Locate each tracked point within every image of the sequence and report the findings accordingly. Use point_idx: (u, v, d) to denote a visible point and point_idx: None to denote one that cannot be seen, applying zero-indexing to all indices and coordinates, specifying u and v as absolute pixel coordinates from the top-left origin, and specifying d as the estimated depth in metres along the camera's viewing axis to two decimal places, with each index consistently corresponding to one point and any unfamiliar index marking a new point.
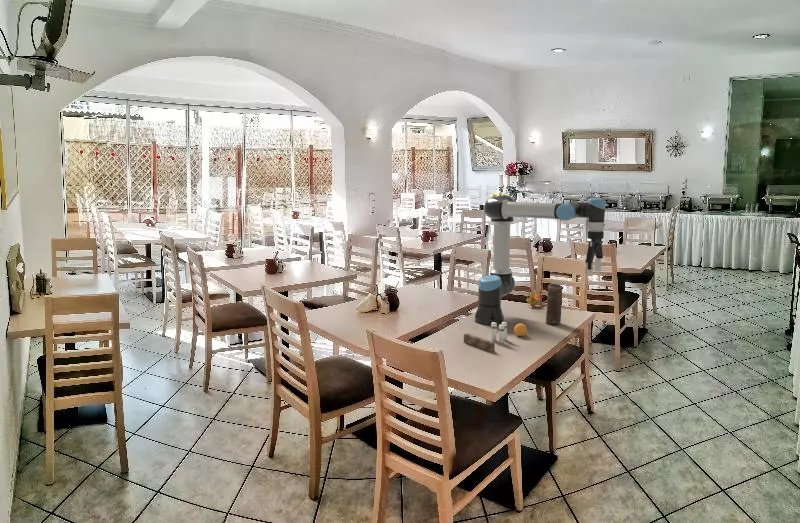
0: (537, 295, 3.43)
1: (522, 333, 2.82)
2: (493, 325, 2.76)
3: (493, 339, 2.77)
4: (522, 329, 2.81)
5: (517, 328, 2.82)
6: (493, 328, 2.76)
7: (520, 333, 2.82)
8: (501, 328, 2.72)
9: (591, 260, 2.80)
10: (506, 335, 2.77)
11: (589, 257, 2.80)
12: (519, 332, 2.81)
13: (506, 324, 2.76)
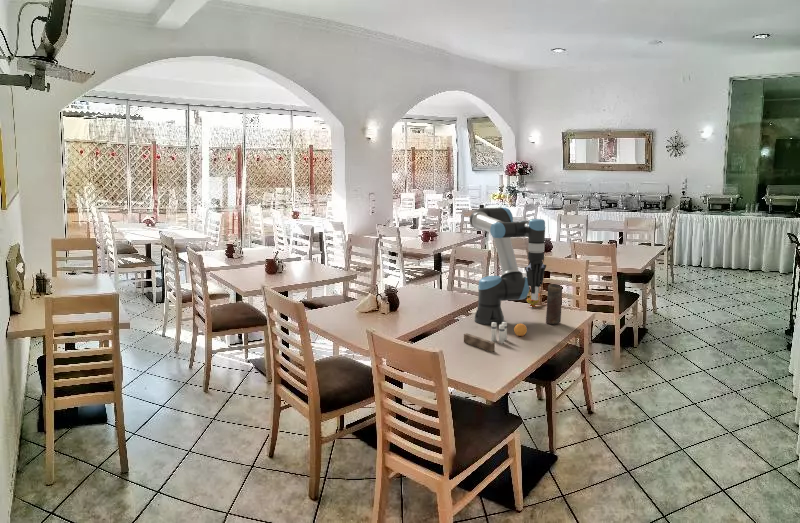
0: None
1: (522, 333, 2.82)
2: (493, 325, 2.76)
3: (493, 339, 2.77)
4: (522, 329, 2.81)
5: (517, 328, 2.82)
6: (493, 328, 2.76)
7: (520, 333, 2.82)
8: (501, 328, 2.72)
9: None
10: (506, 335, 2.77)
11: None
12: (519, 332, 2.81)
13: (506, 324, 2.76)
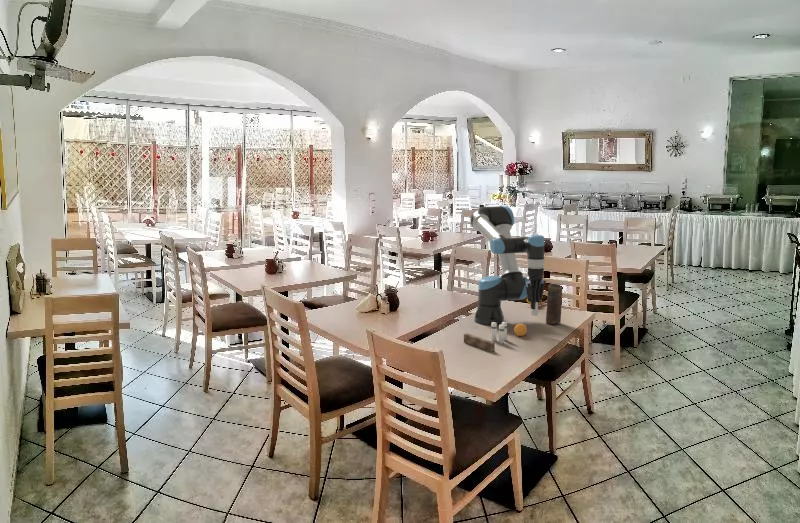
0: None
1: (522, 333, 2.82)
2: (493, 325, 2.76)
3: (493, 339, 2.77)
4: (522, 329, 2.81)
5: (517, 328, 2.82)
6: (493, 328, 2.76)
7: (520, 333, 2.82)
8: (501, 328, 2.72)
9: None
10: (506, 335, 2.77)
11: None
12: (519, 332, 2.81)
13: (506, 324, 2.76)
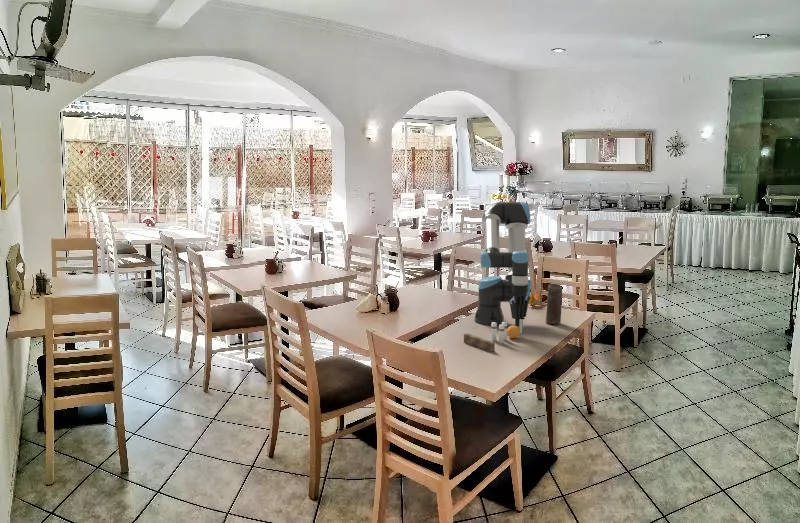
0: (537, 295, 3.43)
1: (518, 335, 2.80)
2: (493, 325, 2.76)
3: (493, 339, 2.77)
4: (515, 336, 2.78)
5: (511, 337, 2.80)
6: (493, 328, 2.76)
7: (517, 336, 2.80)
8: (501, 328, 2.72)
9: None
10: (506, 335, 2.77)
11: None
12: (515, 337, 2.80)
13: (506, 324, 2.76)
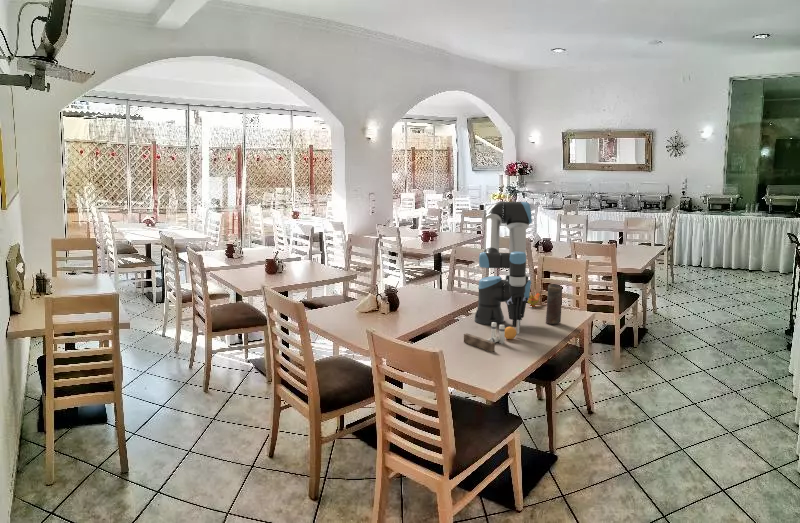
0: (537, 295, 3.43)
1: (515, 334, 2.79)
2: (493, 325, 2.76)
3: None
4: (513, 337, 2.78)
5: None
6: (493, 328, 2.76)
7: None
8: (501, 328, 2.71)
9: None
10: None
11: None
12: None
13: None
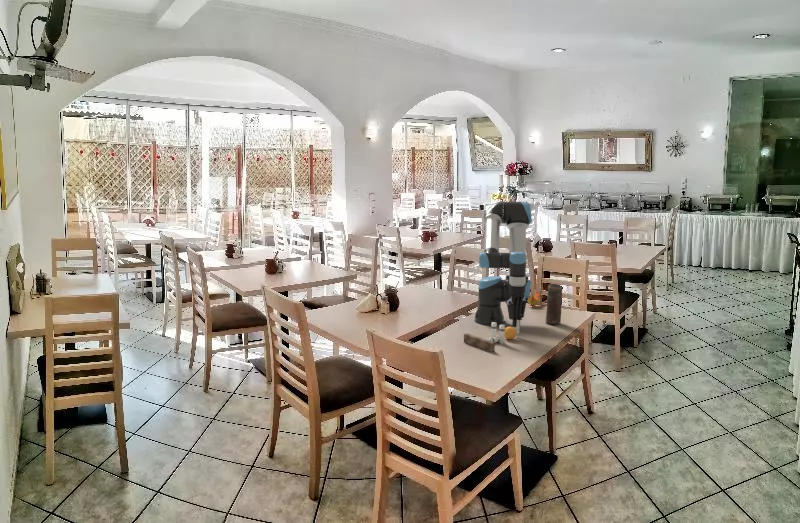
0: (537, 295, 3.43)
1: (515, 334, 2.79)
2: (493, 325, 2.76)
3: None
4: (513, 337, 2.78)
5: None
6: (493, 328, 2.76)
7: None
8: (501, 328, 2.71)
9: None
10: None
11: None
12: None
13: None
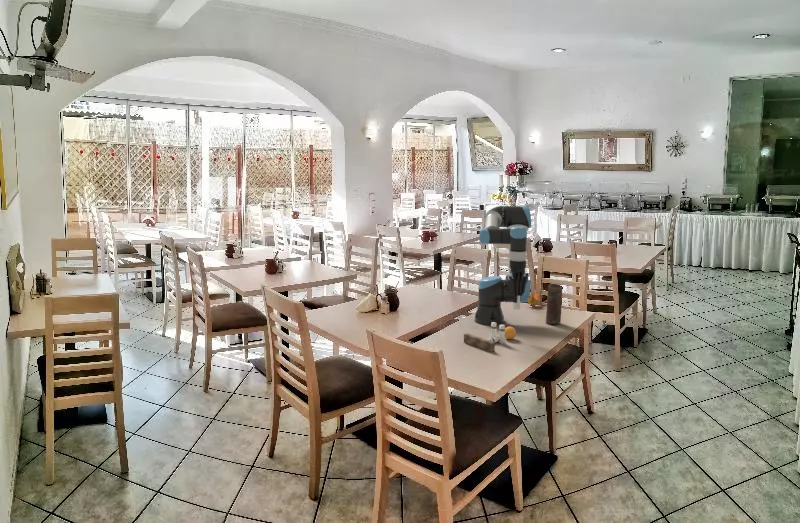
0: (537, 295, 3.43)
1: (515, 334, 2.79)
2: (493, 325, 2.76)
3: None
4: (513, 337, 2.78)
5: None
6: (493, 328, 2.76)
7: None
8: (501, 328, 2.71)
9: None
10: None
11: None
12: None
13: None
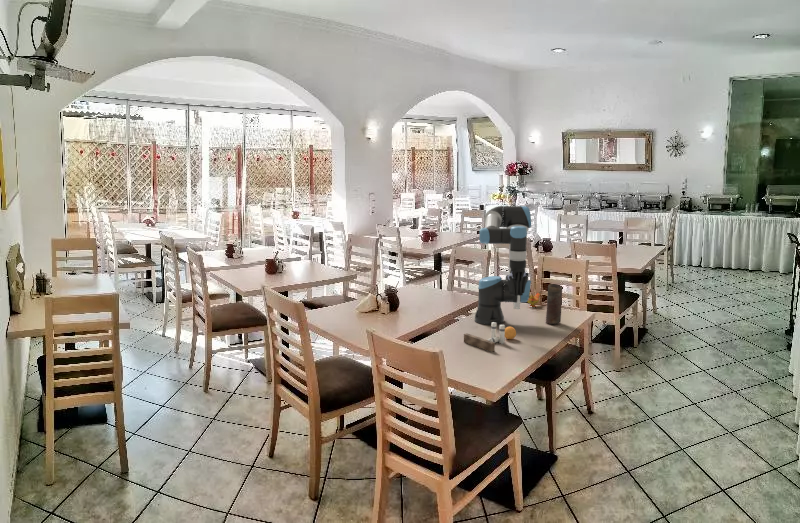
0: (537, 295, 3.43)
1: (515, 334, 2.79)
2: (493, 325, 2.76)
3: None
4: (513, 337, 2.78)
5: None
6: (493, 328, 2.76)
7: None
8: (501, 328, 2.71)
9: None
10: None
11: None
12: None
13: None
